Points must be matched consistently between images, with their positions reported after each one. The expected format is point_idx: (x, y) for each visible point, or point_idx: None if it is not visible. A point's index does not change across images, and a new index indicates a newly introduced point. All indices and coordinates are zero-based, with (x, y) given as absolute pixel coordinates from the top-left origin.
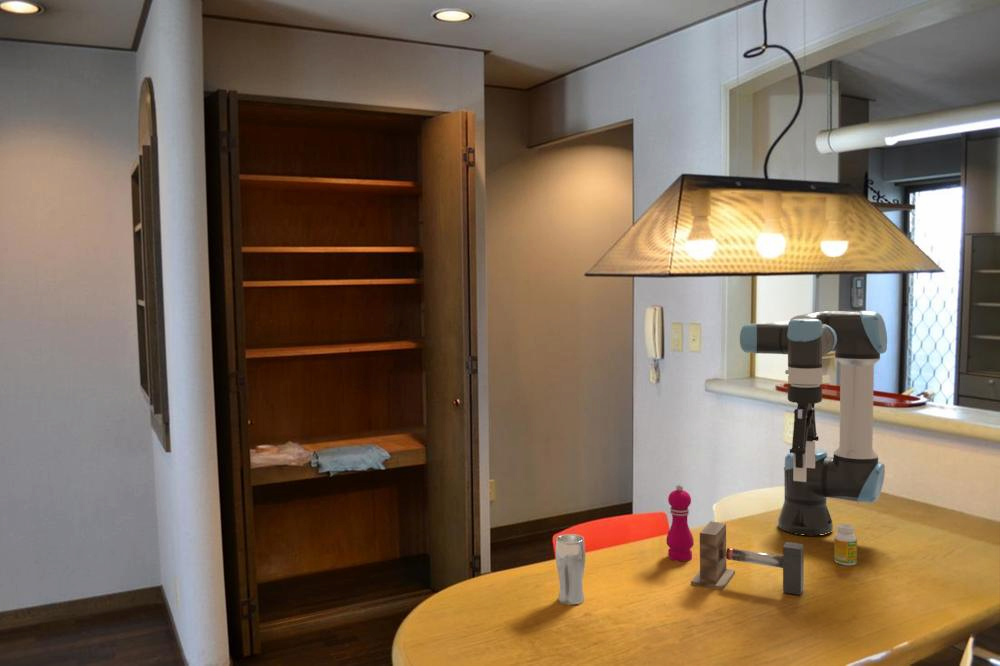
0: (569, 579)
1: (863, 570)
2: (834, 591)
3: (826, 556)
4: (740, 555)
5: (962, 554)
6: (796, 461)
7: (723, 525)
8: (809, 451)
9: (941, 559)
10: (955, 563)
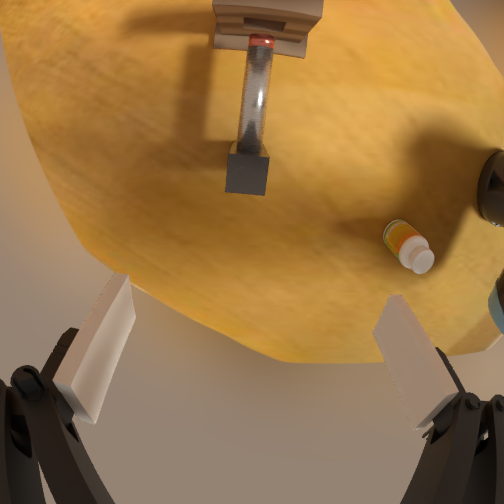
0: None
1: (368, 255)
2: (273, 216)
3: (414, 208)
4: (246, 61)
5: None
6: (55, 354)
7: (301, 11)
8: (408, 373)
9: None
10: None
